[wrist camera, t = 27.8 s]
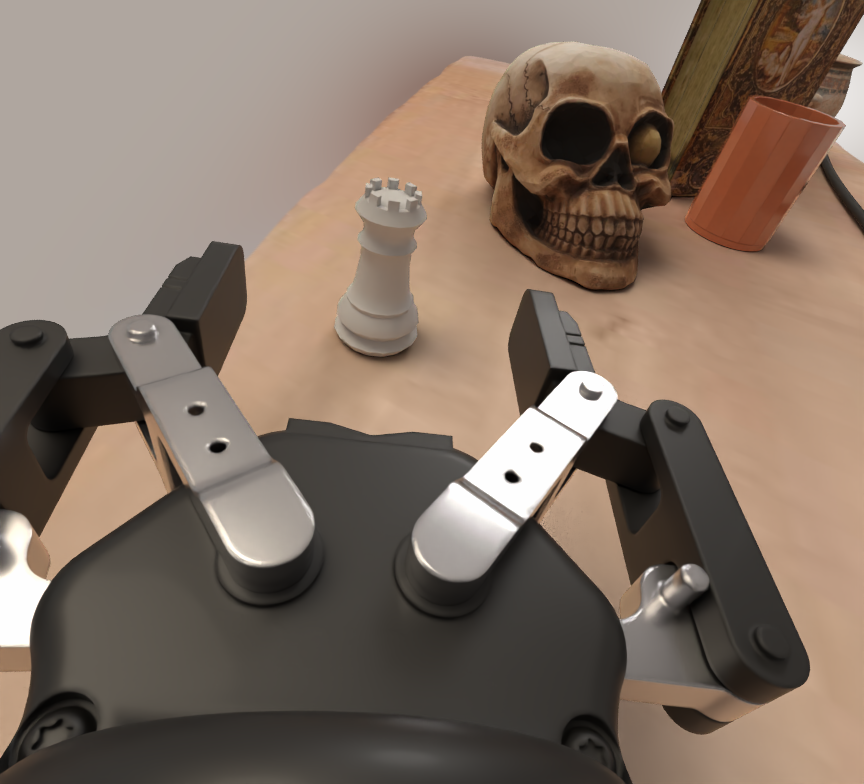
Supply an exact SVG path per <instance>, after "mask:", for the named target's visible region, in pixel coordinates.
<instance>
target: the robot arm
mask: <svg viewBox="0 0 864 784" xmlns="http://www.w3.org/2000/svg"><path fill="white" fill-rule="evenodd" d="M821 164H822V167H823V169H824V172H825V174H826V176H827V178H828V179H829V181H830V183H831V185H832V186H833V188H834V189H835V191H836V192H837V194H838V195H839V197H840V198H841V200H842V201H843V202H844V204H845V205H846V207H847V208H848V209H849V211H850V212H851V213H852V215H853V216H854V217H855V219H856V220H857V221H858V223H859V224H860V225H861V227H862V228H863V229H864V210H863V209H862V207H861V206H860V205H859V204H858V202H857V201H856V200H855V199H854V197H853V196H852V195H851V194H850V192H849V191H848V190H847V188H846V187H845V185H844V184H843V183H842V181H841V180H840V178H839V177H838V175H837V173H836V172H835V170H834V168H833V166H832V164H831V162H830V160H829V157H828V154H827V155H826V156H825V158H824V159H823V161H822V162H821ZM246 304H247V290H246V277H245V265H244V254H243V248H242V247H241V246H240V245H234V244H228V243H221V242H214V241H212V242H211V243H210V245H209V246H208V248H207V249H206V251H205V253H204V254H203V256H202V257H201V258H198V257H189V258H187V259H186V260H184V261H182V262H180V263H179V264H177V265H176V266H175V267H174V269H173V270H172V272H171V273H170V274H169V276H168V278H167V279H166V280H165V282H164V283H163V285H162V288H160V289H159V291H158V292H157V294H156V295H155V297H154V298H153V299H152V301H151V302H150V304H149V305H148V307H147V308H146V310H145V311H144V313H143V314H142V315H135V316H131V317H127V318H125V319H122V320H120V321H119V322H117V323H116V324H114V325H113V326H112V328H111V329H110V330H109V333H108V335H107V336H100V337H88V338H73V339H69V338H68V336H67V333H66V331H65V329H64V328H63V327H62V326H61V325H59V324H57V323H55V322H51V321H45V320H30V321H23V322H19V323H15V324H11V325H9V326H7V327H5V328H3V329H1V330H0V672H22V671H31V680H30V687H29V694H28V698H27V702H26V707H25V711H24V714H23V717H22V720H21V723H20V725H19V727H18V730H17V732H16V734H15V736H14V738H13V739H12V741H11V743H10V744H9V746H8V747H7V749H6V751H5V752H4V754H3V755H2V757H1V758H0V784H632V781H631V779H630V777H629V774H628V772H627V769H626V766H625V764H624V761H623V758H622V755H621V751H620V746H619V740H618V706H619V700H626V701H634V702H643V703H651V704H660V705H662V706H663V708H664V710H665V711H666V713H667V714H668V715H669V717H670V718H671V719H672V720H673V721H674V722H675V723H677V724H678V725H679V726H680V727H682V728H683V729H685V730H687V731H689V732H691V733H694V734H700V735H703V734H709V733H711V732H713V731H715V730H717V729H719V728H721V727H723V726H725V725H727V724H729V723H731V722H732V721H734V720H736V719H738V718H740V717H742V716H744V715H746V714H748V713H750V712H752V711H754V710H755V709H757V708H759V707H761V706H763V705H765V704H767V703H769V702H771V701H773V700H775V699H777V698H778V697H780V696H782V695H784V694H786V693H788V692H790V691H792V690H794V689H796V688H798V687H800V686H801V685H803V684H804V683H805V682H806V680H807V679H808V676H809V672H810V663H809V659H808V655H807V652H806V650H805V648H804V645H803V643H802V641H801V639H800V637H799V634H798V632H797V630H796V628H795V626H794V624H793V621H792V619H791V617H790V615H789V613H788V610H787V608H786V606H785V604H784V602H783V599H782V597H781V595H780V593H779V591H778V589H777V586H776V584H775V582H774V580H773V578H772V575H771V573H770V571H769V569H768V567H767V565H766V562H765V560H764V558H763V556H762V554H761V551H760V549H759V547H758V545H757V543H756V540H755V538H754V536H753V534H752V532H751V530H750V527H749V525H748V523H747V521H746V519H745V516H744V514H743V512H742V510H741V508H740V506H739V503H738V501H737V499H736V497H735V495H734V492H733V490H732V488H731V486H730V484H729V481H728V479H727V477H726V475H725V473H724V471H723V468H722V466H721V464H720V462H719V460H718V457H717V455H716V453H715V451H714V449H713V447H712V444H711V442H710V440H709V438H708V436H707V433H706V431H705V429H704V427H703V425H702V423H701V421H700V419H699V418H698V417H697V416H696V415H695V414H694V413H693V412H692V411H691V410H690V409H688V408H687V407H685V406H683V405H681V404H679V403H677V402H674V401H670V400H656V401H654V402H653V403H651V405H650V406H649V408H648V409H647V411H646V410H643V409H641V408H638V407H635V406H632V405H629V404H627V403H624V402H622V401H620V400H618V399H617V398H618V397H617V392H616V390H615V388H614V387H613V386H612V384H611V383H609V382H608V381H607V380H606V379H604V378H603V377H601V376H599V375H597V374H595V371H594V369H593V366H592V363H591V360H590V357H589V355H588V352H587V349H586V347H585V346H584V345H585V344H584V341H583V338H582V337H581V333H580V330H579V327H578V324H577V323H576V321H575V320H574V319H573V318H572V317H571V316H570V315H569V314H568V313H567V312H564V311H559V310H558V307H557V304H556V301H555V298H554V295H553V293H551V292H544V291H538V290H531V289H527V290H526V291H525V293H524V295H523V297H522V300H521V303H520V306H519V309H518V312H517V315H516V318H515V321H514V323H513V326H512V329H511V332H510V337H509V343H508V352H509V358H510V363H511V369H512V374H513V379H514V385H515V390H516V396H517V401H518V406H519V412H520V418H519V419H518V420H517V421H516V422H515V423H514V424H513V425H512V426H511V427H510V428H509V429H508V430H507V432H506V433H505V434H504V435H503V436H502V437H501V438H500V439H499V440H498V441H497V442H496V443H495V444H494V445H493V446H492V447H491V448H490V450H489V451H488V452H487V453H486V454H485V455H484V456H483V457H482V458H481V459H480V460H479V461H478V460H476V459H475V458H473V457H472V456H470V455H468V454H466V453H464V452H462V451H459V450H457V449H454V448H453V441H452V436H446V435H437V434H428V433H419V432H406V433H395V434H384V435H368V434H365V433H362V432H358V431H355V430H352V429H349V428H346V427H343V426H339V425H336V424H333V423H329V422H320V421H311V420H302V419H293V418H289V421H288V425H287V428H286V430H283V431H276V432H271V433H267V434H264V435H260V436H258V437H257V435H256V434H255V432H254V431H253V429H252V428H251V426H250V425H249V423H248V422H247V420H246V419H245V417H244V416H243V414H242V413H241V411H240V410H239V408H238V407H237V405H236V404H235V402H234V400H233V399H232V397H231V396H230V394H229V393H228V391H227V390H226V388H225V387H224V385H223V384H222V382H221V381H220V379H219V378H218V375H219V372H220V370H221V368H222V365H223V363H224V361H225V359H226V356H227V354H228V352H229V349H230V347H231V345H232V343H233V340H234V338H235V336H236V333H237V331H238V329H239V326H240V324H241V322H242V320H243V317H244V314H245V310H246ZM134 421H135V424H136V426H137V428H138V430H139V432H140V434H141V436H142V438H143V441H144V443H145V445H146V447H147V449H148V451H149V453H150V455H151V457H152V459H153V461H154V463H155V465H156V467H157V469H158V471H159V473H160V476H161V478H162V480H163V483H164V486H165V489H166V491H167V495H165V496H164V497H162V498H161V499H159V500H158V501H156V502H155V503H153V504H152V505H150V506H149V507H148V508H146V509H145V510H143V511H142V512H140V513H139V514H137V515H136V516H134V517H133V518H131V519H130V520H128V521H127V522H125V523H124V524H123V525H121V526H120V527H118V528H117V529H115V530H114V531H112V532H111V533H109V534H108V535H106V536H105V537H103V538H102V539H100V540H99V541H98V542H96V543H95V544H93V545H92V546H90V547H89V548H87V549H86V550H84V551H83V552H81V553H80V554H79V555H77V556H76V557H75V558H73V559H72V560H71V561H70V562H69V563H68V564H67V565H65V566H64V567H63V568H62V569H61V570H60V571H59V573H58V574H57V575H56V576H55V577H54V578H53V580H52V581H51V580H47V579H46V577H47V574H48V570H49V567H50V555H49V553H48V551H47V549H46V548H45V546H44V545H43V543H42V541H41V540H40V538H39V537H40V535H41V533H42V531H43V529H44V527H45V525H46V523H47V522H48V520H49V518H50V516H51V514H52V512H53V510H54V508H55V506H56V505H57V503H58V501H59V499H60V497H61V495H62V493H63V491H64V489H65V487H66V486H67V484H68V482H69V480H70V478H71V476H72V474H73V472H74V470H75V469H76V467H77V465H78V463H79V461H80V459H81V457H82V455H83V453H84V452H85V450H86V448H87V446H88V444H89V442H90V440H91V438H92V436H93V434H94V433H95V431H96V429H97V427H98V426H103V425H111V424H118V423H126V422H134ZM577 469H580V470H582V471H585V472H588V473H590V474H593V475H595V476H598V477H601V478H603V479H606V484H607V489H608V493H609V497H610V501H611V505H612V509H613V513H614V517H615V522H616V526H617V530H618V534H619V538H620V542H621V546H622V550H623V555H624V559H625V563H626V567H627V571H628V575H629V579H630V583H631V587H630V588H629V589H628V590H627V591H626V592H625V593H624V594H623V596H622V597H621V600H620V605H619V609H620V619H619V618H618V616H617V614H616V612H615V610H614V608H613V607H612V605H611V604H610V602H609V601H608V599H607V598H606V597H605V595H604V594H603V593H602V592H601V591H600V589H599V588H598V587H597V586H596V585H595V584H594V583H593V582H592V581H591V580H590V579H589V577H588V576H587V575H586V574H585V573H584V572H583V571H582V570H581V569H580V568H579V567H578V565H577V564H576V563H575V562H574V561H573V560H572V559H571V558H570V557H569V556H568V555H567V553H566V552H565V551H564V550H563V549H562V548H561V547H560V546H559V545H558V544H557V543H556V541H555V540H554V539H553V538H552V537H551V536H550V535H549V534H548V533H547V532H546V531H545V529H544V528H543V527H542V526H541V525H540V522H541V521H542V519H543V517H544V516H545V514H546V513H547V511H548V510H549V508H550V507H551V505H552V504H553V503H554V501H555V500H556V498H557V497H558V496H559V494H560V493H561V491H562V490H563V489H564V487H565V486H566V484H567V483H568V481H569V480H570V479H571V477H572V476H573V474H574V473H575V472H576V470H577Z"/></svg>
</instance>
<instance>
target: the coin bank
mask: <svg viewBox="0 0 864 784" xmlns="http://www.w3.org/2000/svg"><path fill="white" fill-rule="evenodd" d="M673 132H674V122H673V120H672V119H670V118H669V117H668V116H667V114H666V113H665V109H664V104H663V100H662V95H661V91H660V87H659V85H658V83H657V81H656V79H655V77H654V75H653V73H652V72H651V70H650V68H649V67H648V65H647V64H646V63H644V62H642V61H640V60H638V59H636V58H635V57H633V56H631V55H629V54H626V53H624V52H621V51H619V50H616V49H612V48H608V47H601V46H595V45H588V44H583V43H579V42H576V41H575V42H556V43H554V42H552V43H547V44H543V45H538V46H536V47H533V48H531V49H529V50H527V51H525V52H524V53H522V54H521V55H520V56H519V57H517V58H516V59H515V60H514V61H513V62H512V63H511V64H510V65H509V67H508V68H507V70H506V71H505V73H504V74H503V76H502V78H501V79H500V81H499V82H498V83H497V85H496V87H495V89H494V92H493V94H492V96H491V99H490V102H489V105H488V109H487V113H486V117H485V122H484V127H483V133H482V160H483V171H484V177H485V178H486V180H487V182H488V183H489V184H490V185H491V186H492V187H493V188H494V189H495V191H494V194H493V197H492V205H491V212H490V221H491V223H492V224H493V226H495V227H498V229H499V231H500V232H501V233H502V234H503V236H504V237H505V238H506V239H507V240H508V241H509V242H510V243H511V244H512V245H513V246H515V247H517V248H518V249H519V250H520V251H521V252H522V253H523V254H525V255H527V256H529V257H532V258H533V260H534V261H535V263H536V264H537V266H538V267H540V268H542V269H544V270H546V271H548V272H550V273H552V274H556V275H559V276H562V277H565V278H568V279H571V280H573V281H575V282H577V283H579V284H581V285H582V286H584V287H586V288H590V289H595V290H596V289H606V290H614V289H623V288H625V287H626V286H627V285H629V284H630V283H633V282H634V280H635V277H636V274H637V268H638V258H637V257H638V239H639V238H640V234H641V231H642V223H643V220H644V218H643V215H642V213H641V210H642V209H646V208H650V207H655V206H665V205H666V204H667V203H668V202H669V201H670V198H671V186H670V182H669V178H668V173H667V169H668V167H669V164H670V157H671V144H672V139H673Z"/></svg>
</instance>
